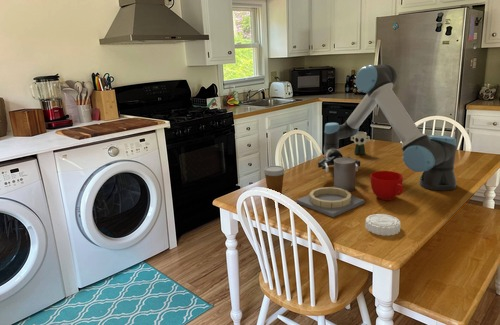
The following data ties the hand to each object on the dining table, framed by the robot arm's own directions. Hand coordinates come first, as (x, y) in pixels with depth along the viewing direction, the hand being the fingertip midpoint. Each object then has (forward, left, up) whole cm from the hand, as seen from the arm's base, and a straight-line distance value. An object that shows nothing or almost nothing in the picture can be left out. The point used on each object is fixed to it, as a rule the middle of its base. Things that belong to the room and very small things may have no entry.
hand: (342, 169), depth 178 cm
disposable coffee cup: (+15, +29, -9) cm, 34 cm away
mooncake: (-38, +24, -9) cm, 45 cm away
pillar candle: (-3, +2, -9) cm, 9 cm away
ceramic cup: (-24, -1, -9) cm, 25 cm away
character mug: (+28, -51, -9) cm, 59 cm away
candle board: (-10, +20, -8) cm, 24 cm away
